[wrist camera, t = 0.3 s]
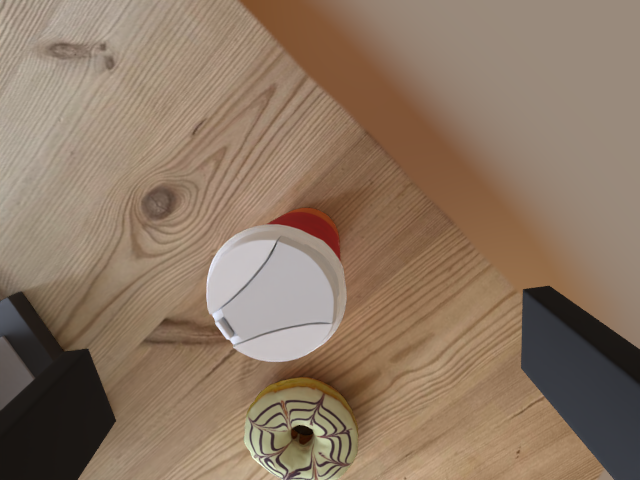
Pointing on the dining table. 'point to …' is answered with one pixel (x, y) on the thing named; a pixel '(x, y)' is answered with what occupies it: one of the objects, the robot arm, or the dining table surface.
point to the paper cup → (279, 286)
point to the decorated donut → (297, 449)
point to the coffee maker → (22, 346)
